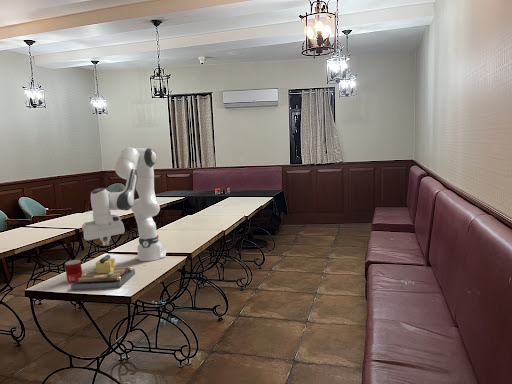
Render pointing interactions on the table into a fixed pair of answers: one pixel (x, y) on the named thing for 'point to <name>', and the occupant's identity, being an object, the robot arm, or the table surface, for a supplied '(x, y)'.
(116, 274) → the level plate
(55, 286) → the table surface
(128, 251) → the table surface
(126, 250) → the table surface
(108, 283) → the grey tray
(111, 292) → the table surface
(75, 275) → the canned food
